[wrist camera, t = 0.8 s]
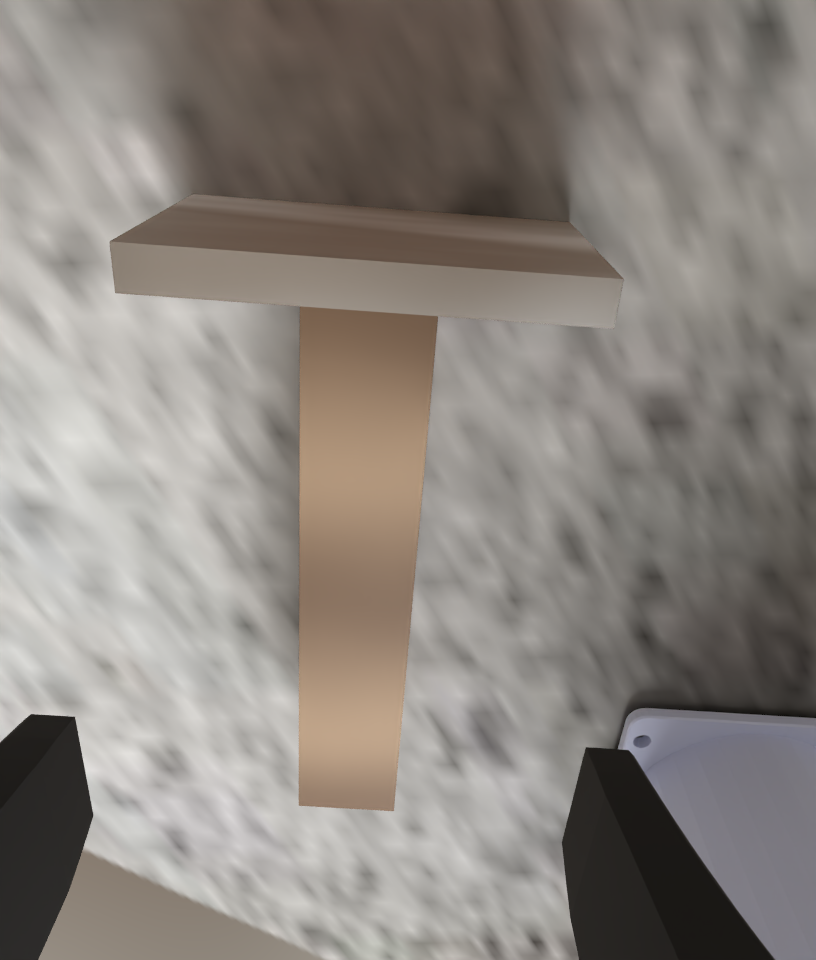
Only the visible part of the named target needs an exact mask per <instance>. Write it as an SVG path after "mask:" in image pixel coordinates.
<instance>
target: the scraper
mask: <svg viewBox="0 0 816 960" xmlns="http://www.w3.org/2000/svg"><path fill="white" fill-rule="evenodd" d="M110 251H111V259H112V268H113V277H114V286H115V293H121V294H135V295H149V296H163V297H177V298H191V299H205V300H219V301H233V302H247V303H260V304H274V305H288V306H300V478H299V806H315V807H332V808H349V809H367V810H384V811H394V801H395V790H396V779H397V768H398V757H399V746H400V734H401V723H402V712H403V701H404V690H405V679H406V668H407V656H408V645H409V634H410V623H411V612H412V601H413V589H414V578H415V567H416V556H417V545H418V534H419V522H420V511H421V500H422V489H423V478H424V467H425V455H426V444H427V433H428V422H429V411H430V400H431V389H432V377H433V366H434V355H435V344H436V333H437V322H438V316H441V317H455V318H469V319H483V320H497V321H511V322H525V323H539V324H553V325H567V326H581V327H594V328H608V329H614V325H615V320H616V315H617V311H618V306H619V301H620V296H621V291H622V286H623V281H624V279H623V278H622V277H621V276H620V275H619V274H618V273H617V272H616V270H615V269H614V268H613V267H612V266H611V265H610V264H609V263H608V262H607V261H606V260H605V259H604V258H603V257H602V256H601V255H600V254H599V253H598V251H597V250H596V249H595V248H594V247H593V246H592V245H591V244H590V243H589V242H588V241H587V240H586V239H585V238H584V237H583V236H582V235H581V234H580V232H579V231H578V230H577V229H576V228H575V227H574V226H573V225H572V224H571V223H570V222H562V221H549V220H535V219H522V218H508V217H495V216H481V215H468V214H455V213H441V212H428V211H414V210H401V209H387V208H374V207H361V206H347V205H334V204H320V203H307V202H294V201H280V200H267V199H253V198H240V197H226V196H213V195H200V194H192V195H190V196H188V197H186V198H185V199H183V200H181V201H179V202H178V203H176V204H174V205H172V206H171V207H169V208H167V209H165V210H164V211H162V212H160V213H158V214H157V215H155V216H153V217H151V218H150V219H148V220H146V221H145V222H143V223H141V224H139V225H138V226H136V227H134V228H132V229H131V230H129V231H127V232H125V233H124V234H122V235H120V236H118V237H117V238H115V239H113V240H111V241H110Z"/></svg>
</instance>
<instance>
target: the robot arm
mask: <svg viewBox="0 0 816 960" xmlns="http://www.w3.org/2000/svg"><path fill="white" fill-rule="evenodd" d="M640 735H644V736H643V737H638V736H640ZM636 737H638V738H636ZM92 818H93V811H92V806H91V801H90V795H89V790H88V785H87V779H86V774H85V769H84V763H83V758H82V753H81V747H80V742H79V737H78V731H77V726H76V721H75V717H68V716H51V715H34V714H31V715H30V716H28V717H27V718H26V719H25V720H24V721H23V722H21V723H20V724H19V725H18V726H17V727H16V728H15V729H14V730H13V731H12V732H11V733H10V734H9V735H8V736H7V737H5V738H4V739H3V740H2V741H1V742H0V960H38V958H39V956H40V954H41V952H42V950H43V947H44V945H45V943H46V941H47V939H48V936H49V934H50V932H51V929H52V927H53V925H54V923H55V921H56V918H57V916H58V914H59V912H60V910H61V907H62V905H63V903H64V900H65V898H66V896H67V894H68V891H69V888H70V885H71V883H72V880H73V877H74V874H75V871H76V868H77V865H78V862H79V859H80V856H81V853H82V850H83V847H84V843H85V840H86V837H87V834H88V831H89V828H90V824H91V821H92ZM562 846H563V856H564V865H565V875H566V884H567V893H568V901H569V909H570V918H571V923H572V927H573V932H574V937H575V942H576V946H577V951H578V956H579V960H816V718H803V717H787V716H770V715H754V714H737V713H721V712H704V711H688V710H671V709H654V708H640V709H637V710H634V711H633V712H631V713H630V714H629V715H628V717H627V718H626V721H625V725H624V728H623V732H622V735H621V739H620V743H619V746H618V749H604V748H587V747H586V749H585V753H584V757H583V761H582V765H581V769H580V773H579V777H578V781H577V785H576V789H575V793H574V797H573V801H572V805H571V809H570V813H569V817H568V821H567V825H566V829H565V833H564V837H563V841H562Z"/></svg>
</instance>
